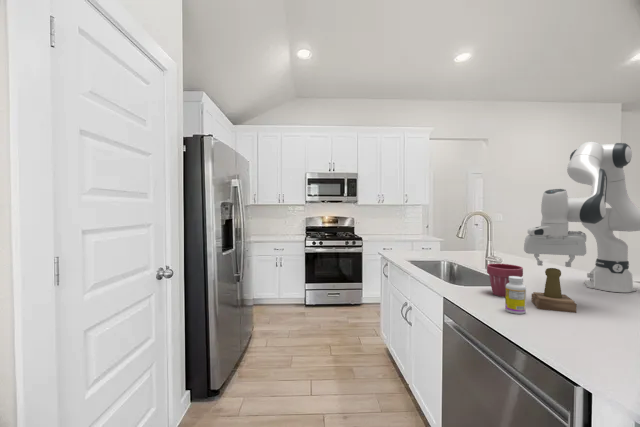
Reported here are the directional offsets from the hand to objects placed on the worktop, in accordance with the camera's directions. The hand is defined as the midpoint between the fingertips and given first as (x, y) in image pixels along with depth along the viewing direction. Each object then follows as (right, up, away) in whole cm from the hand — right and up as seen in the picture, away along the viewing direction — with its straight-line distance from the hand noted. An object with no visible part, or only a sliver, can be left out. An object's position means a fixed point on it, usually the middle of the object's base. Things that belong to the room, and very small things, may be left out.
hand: (553, 266), depth 135 cm
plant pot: (-10, -16, +18) cm, 26 cm away
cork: (0, -12, 0) cm, 12 cm away
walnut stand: (0, -16, 0) cm, 16 cm away
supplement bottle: (-19, -16, -7) cm, 26 cm away
